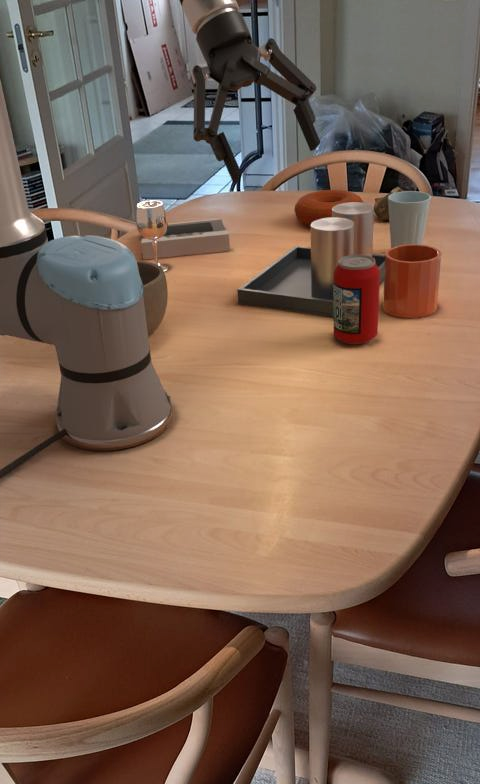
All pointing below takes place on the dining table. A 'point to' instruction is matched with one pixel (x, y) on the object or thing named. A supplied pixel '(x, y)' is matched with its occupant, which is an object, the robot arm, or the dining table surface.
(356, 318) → the beverage can
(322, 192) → the donut
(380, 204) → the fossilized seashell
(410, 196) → the cup
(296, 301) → the tray
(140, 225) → the wineglass
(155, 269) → the bowl
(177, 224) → the rectangular box
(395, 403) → the dining table surface
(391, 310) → the terracotta mug
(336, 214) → the silver can
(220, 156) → the robot arm
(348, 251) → the silver can
